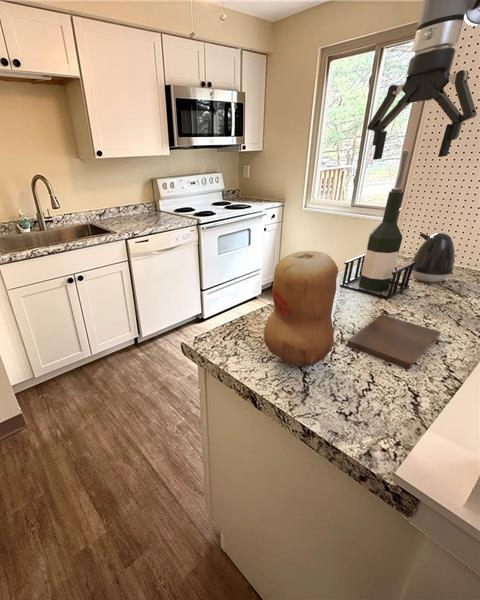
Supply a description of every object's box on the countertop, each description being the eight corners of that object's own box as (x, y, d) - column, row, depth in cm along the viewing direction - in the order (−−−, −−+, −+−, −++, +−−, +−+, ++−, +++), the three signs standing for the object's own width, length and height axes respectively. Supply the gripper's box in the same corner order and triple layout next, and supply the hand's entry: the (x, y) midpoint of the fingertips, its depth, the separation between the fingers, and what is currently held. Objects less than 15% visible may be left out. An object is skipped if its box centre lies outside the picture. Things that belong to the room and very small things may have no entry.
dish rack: (361, 275, 108) (366, 252, 104) (409, 287, 97) (417, 261, 93) (338, 286, 102) (343, 262, 98) (387, 299, 91) (394, 273, 87)
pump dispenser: (417, 271, 107) (430, 227, 100) (455, 280, 98) (472, 232, 91) (399, 278, 103) (411, 233, 97) (437, 288, 94) (453, 239, 88)
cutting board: (380, 319, 82) (381, 314, 81) (439, 337, 72) (441, 331, 72) (346, 345, 73) (347, 340, 72) (408, 369, 64) (410, 363, 63)
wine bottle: (381, 281, 102) (405, 185, 89) (395, 291, 95) (423, 189, 82) (353, 282, 104) (373, 188, 91) (364, 292, 96) (388, 191, 84)
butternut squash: (251, 348, 75) (258, 249, 65) (300, 338, 77) (315, 240, 67) (286, 385, 63) (302, 270, 52) (344, 371, 65) (370, 258, 54)
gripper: (362, 67, 76) (347, 161, 85) (509, 28, 56) (469, 156, 65) (378, 68, 79) (362, 158, 88) (523, 31, 59) (483, 153, 68)
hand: (407, 158), depth 77 cm, fingers open, 13 cm apart
